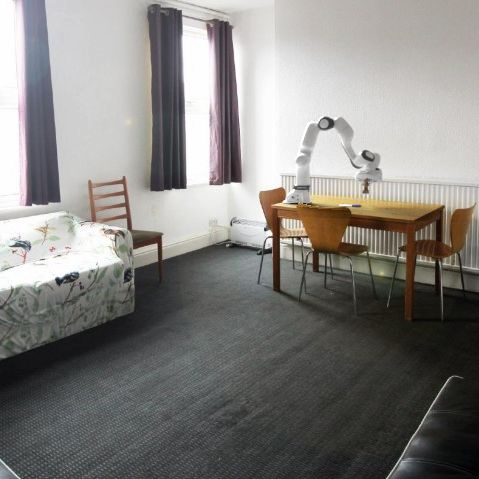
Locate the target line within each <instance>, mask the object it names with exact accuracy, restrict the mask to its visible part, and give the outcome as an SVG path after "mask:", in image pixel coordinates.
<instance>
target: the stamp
mask: <svg viewBox="0 0 479 479" xmlns="http://www.w3.org/2000/svg"><path fill="white" fill-rule="evenodd" d="M363 183H364V186H363V189H362V195H363V194H365V195H366V194H370V189H369V186H368V183H370V182H369V179H368V178H365V179H364V182H363Z"/></svg>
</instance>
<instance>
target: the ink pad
mask: <svg viewBox="0 0 479 479" xmlns="http://www.w3.org/2000/svg"><path fill="white" fill-rule="evenodd" d="M351 205H352V206H351V208H360V206H361V203H352V204H351Z"/></svg>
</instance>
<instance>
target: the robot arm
mask: <svg viewBox="0 0 479 479" xmlns="http://www.w3.org/2000/svg"><path fill="white" fill-rule="evenodd" d="M330 130H333V131H335V132H336V133H337V135H338V137H339V140H340V142H341V146H342V149H343V150H344V152H345V154H346V155H347V157H348V159H349V161H350V164H351V165H352V167H353V168H354V169H357V170H358V171H357V172H356V174H355V175H354V179H355V181H356V182H361V186H363V187H364V179H365V178H368V179H369V182H368V187H370V186H371V185H372V184H373V183H381V182H382V181H383V170H382V168H379V166H380V163H381V155H380V154H379V153H377V152H371V151H370V150H367V149H364V150H363V149H362V151H360V152H359V153H358V154H356V152H355V150H354V149H353V146H352V140H353V138H354V135H355V131H354V129H353V128H352V126H351V125H350V124H349V122H348V121H347V120H346V119H345V118H344V117H342V116H336V117H335V118H331V117H330V116H327V115H324V116H322V117H320V118H319V119H318V121H317V122H316V121H310V122H308V123H307V125H306V127H305V130H304V131H303V132H304V133H303V136H302V138H301V141H300V144H299V150H298V152H297V156H296V157H295V160H294V165H295V166H294V169H295V184H294V185H293V186H292V190H291V191H290V192H288V193H287V194H286V196H285V200H283V201H282V203H283V204H290V203H299V202H300V203H306V204H312V199H311V184H310V183H311V182H310V181H311V180H310V179H311V173H310V170H311V169H310V163H311V161H312V156H313V154H314V149H315V146H316V143H317V141H318V140H317V139H318V137H319V135H320V132H323V131H324V132H328V131H330ZM365 165H366V166H365ZM364 166H365V168H364V170H361V169H362V168H363V167H364Z"/></svg>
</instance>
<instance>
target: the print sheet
mask: <svg viewBox="0 0 479 479" xmlns="http://www.w3.org/2000/svg"><path fill="white" fill-rule="evenodd" d="M352 205H353V204H351V203H350V204H348V203H347V204H345V203H344V204H343V203H340V204H339V207H348V208H349V207H350V208H352Z"/></svg>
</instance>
